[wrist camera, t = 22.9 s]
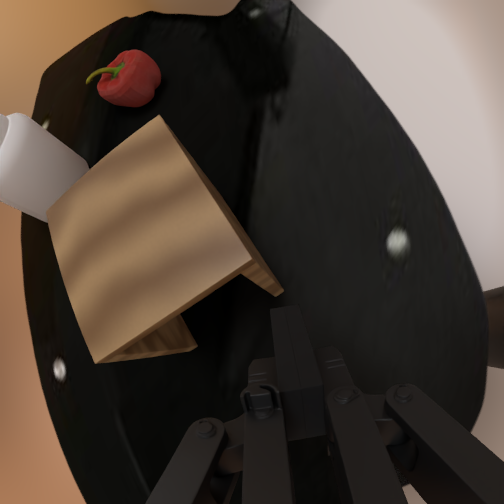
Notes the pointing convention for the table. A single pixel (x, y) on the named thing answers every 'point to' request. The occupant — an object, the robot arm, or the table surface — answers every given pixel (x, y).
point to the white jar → (34, 166)
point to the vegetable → (128, 79)
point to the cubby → (147, 246)
